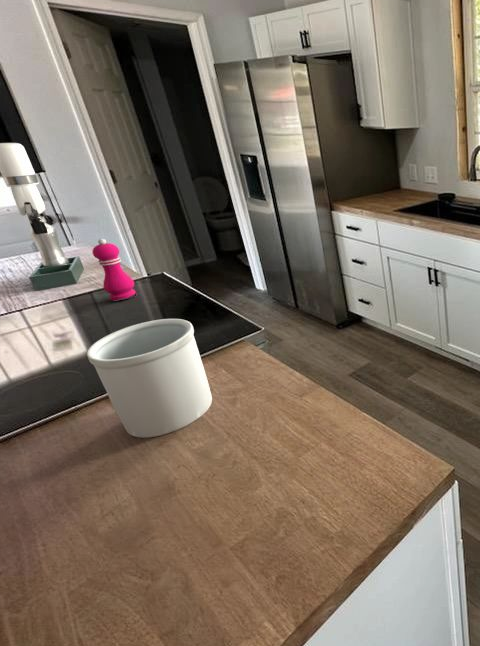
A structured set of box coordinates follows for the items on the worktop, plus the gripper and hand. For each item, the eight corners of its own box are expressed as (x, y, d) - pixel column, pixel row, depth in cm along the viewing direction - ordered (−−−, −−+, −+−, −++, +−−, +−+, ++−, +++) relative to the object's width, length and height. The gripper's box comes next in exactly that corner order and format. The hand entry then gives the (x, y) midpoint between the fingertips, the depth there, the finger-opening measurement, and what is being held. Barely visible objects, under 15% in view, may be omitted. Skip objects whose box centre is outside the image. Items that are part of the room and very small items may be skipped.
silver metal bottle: (41, 273, 149) (17, 219, 142) (64, 266, 156) (42, 215, 148) (54, 274, 148) (30, 220, 141) (76, 267, 154) (54, 215, 147)
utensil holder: (226, 411, 82) (201, 335, 76) (129, 454, 72) (90, 370, 66) (205, 381, 92) (182, 311, 85) (117, 416, 81) (82, 339, 75)
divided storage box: (35, 291, 140) (28, 277, 138) (46, 274, 154) (41, 262, 152) (76, 283, 145) (71, 270, 144) (84, 268, 160) (79, 256, 158)
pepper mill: (108, 298, 134) (84, 239, 126) (137, 291, 138) (116, 234, 131) (109, 304, 129) (84, 244, 122) (139, 297, 134) (117, 238, 126)
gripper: (12, 179, 144) (34, 228, 151) (-3, 185, 132) (22, 238, 138) (42, 176, 149) (62, 224, 155) (31, 182, 136) (54, 234, 143)
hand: (43, 231), depth 147 cm, fingers closed on silver metal bottle, 6 cm apart
